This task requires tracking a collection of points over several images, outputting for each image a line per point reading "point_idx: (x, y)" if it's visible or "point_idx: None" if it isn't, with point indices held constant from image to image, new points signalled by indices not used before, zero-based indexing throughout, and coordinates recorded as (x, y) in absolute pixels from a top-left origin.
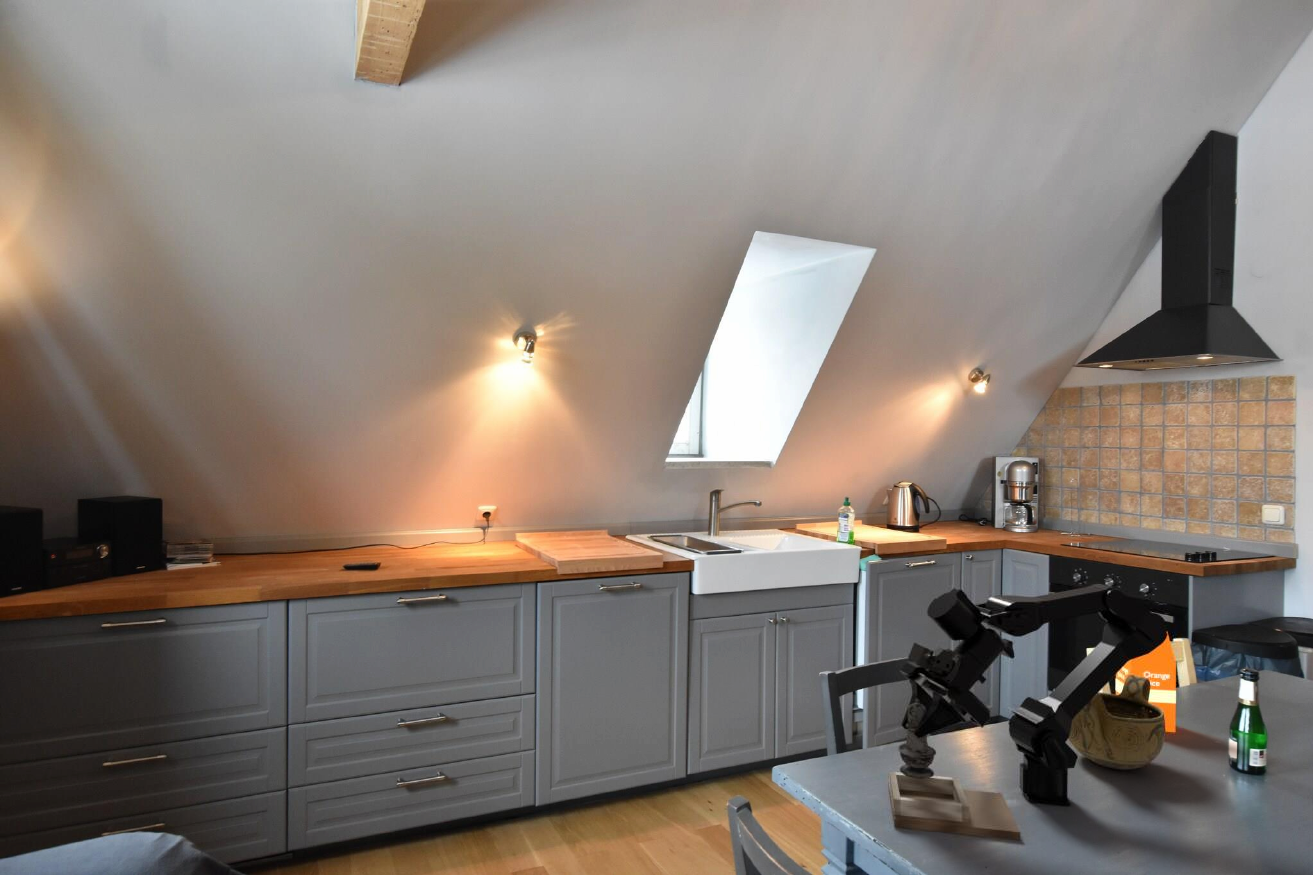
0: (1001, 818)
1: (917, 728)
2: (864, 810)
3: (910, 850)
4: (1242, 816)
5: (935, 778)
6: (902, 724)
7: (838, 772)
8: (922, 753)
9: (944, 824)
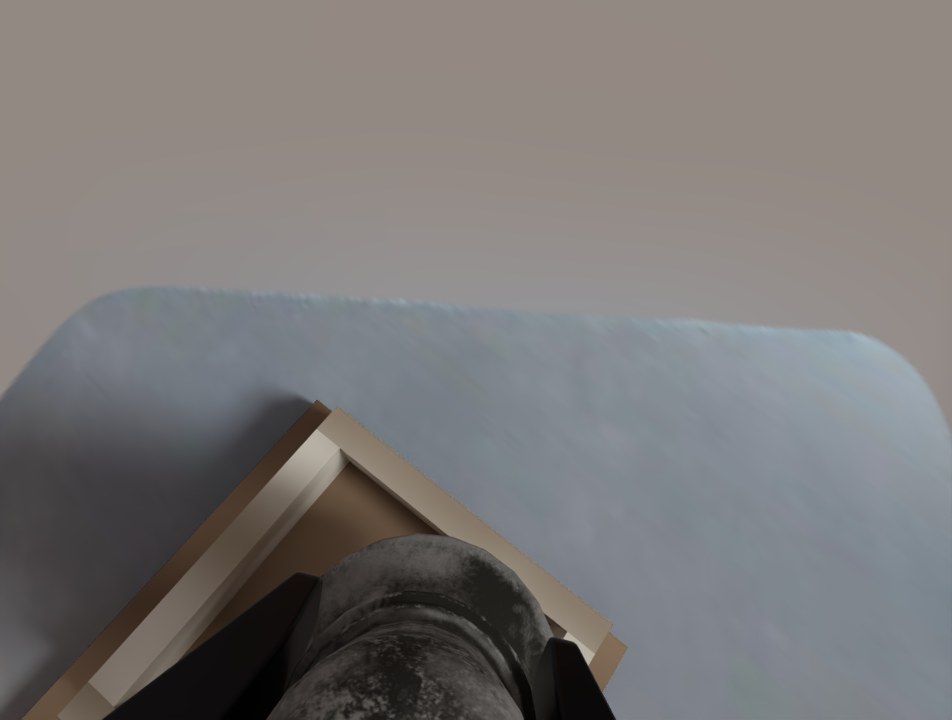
0: None
1: (276, 610)
2: (482, 399)
3: (163, 336)
4: None
5: None
6: (558, 641)
7: (841, 547)
8: (309, 644)
9: (166, 563)
